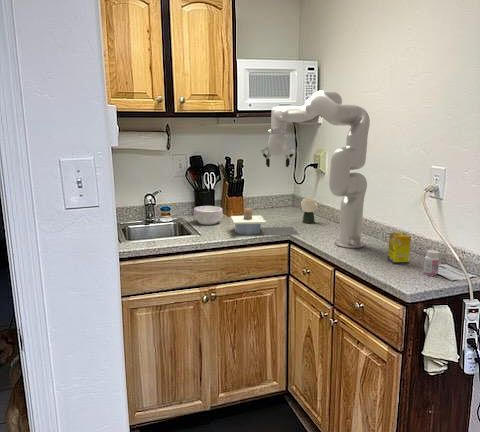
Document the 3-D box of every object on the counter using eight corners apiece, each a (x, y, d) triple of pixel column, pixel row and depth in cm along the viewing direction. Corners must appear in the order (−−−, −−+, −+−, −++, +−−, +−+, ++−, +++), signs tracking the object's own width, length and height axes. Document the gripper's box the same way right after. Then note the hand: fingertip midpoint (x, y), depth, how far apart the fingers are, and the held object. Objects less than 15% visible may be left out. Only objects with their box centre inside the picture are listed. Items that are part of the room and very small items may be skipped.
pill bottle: (433, 277, 157) (435, 254, 155) (420, 273, 160) (422, 250, 159) (440, 274, 159) (443, 251, 158) (428, 271, 163) (430, 248, 161)
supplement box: (387, 259, 177) (389, 232, 174) (402, 259, 177) (404, 232, 175) (393, 264, 171) (395, 236, 169) (408, 264, 171) (411, 236, 169)
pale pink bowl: (222, 226, 231) (222, 211, 229) (192, 226, 230) (192, 210, 229) (223, 220, 246) (223, 205, 244) (195, 219, 245) (194, 205, 244)
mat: (300, 235, 213) (300, 234, 212) (266, 236, 211) (266, 235, 211) (292, 228, 228) (292, 226, 228) (261, 228, 226) (261, 227, 226)
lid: (265, 223, 210) (266, 211, 209) (233, 224, 208) (233, 211, 207) (260, 217, 225) (261, 205, 223) (230, 217, 223) (230, 205, 222)
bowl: (261, 235, 212) (262, 223, 211) (236, 235, 211) (236, 223, 210) (257, 229, 224) (258, 217, 223) (233, 229, 223) (234, 218, 222)
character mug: (320, 224, 238) (322, 199, 235) (312, 226, 233) (313, 201, 230) (304, 220, 245) (305, 197, 243) (296, 222, 241) (297, 198, 238)
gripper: (262, 132, 220) (261, 167, 223) (297, 132, 222) (296, 167, 225) (260, 132, 227) (259, 166, 231) (293, 132, 229) (292, 166, 233)
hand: (277, 166), depth 228 cm, fingers open, 9 cm apart
